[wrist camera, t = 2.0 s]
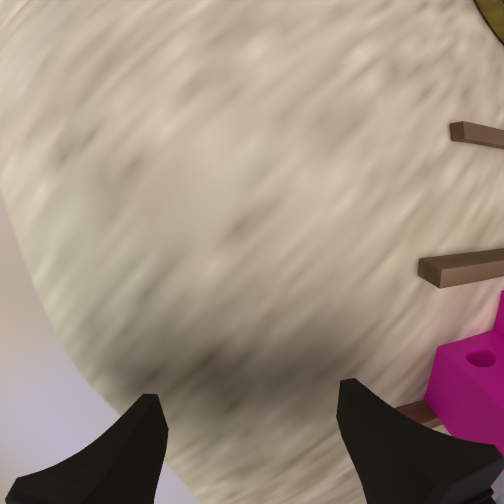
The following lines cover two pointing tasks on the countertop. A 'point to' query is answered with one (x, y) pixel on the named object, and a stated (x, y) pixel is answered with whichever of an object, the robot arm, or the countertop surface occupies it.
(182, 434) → the countertop surface
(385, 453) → the robot arm
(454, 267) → the wooden slat rack
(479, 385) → the magenta curved bracket
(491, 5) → the gold tapered round piece
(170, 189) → the countertop surface
